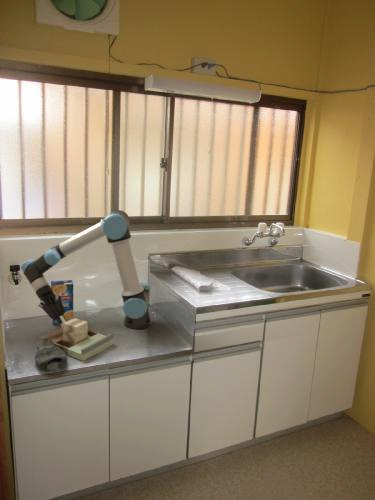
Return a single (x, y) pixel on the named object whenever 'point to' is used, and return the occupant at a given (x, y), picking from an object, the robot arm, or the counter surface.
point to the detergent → (50, 355)
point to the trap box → (63, 343)
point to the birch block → (75, 330)
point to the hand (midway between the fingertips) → (66, 328)
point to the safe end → (90, 346)
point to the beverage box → (64, 297)
